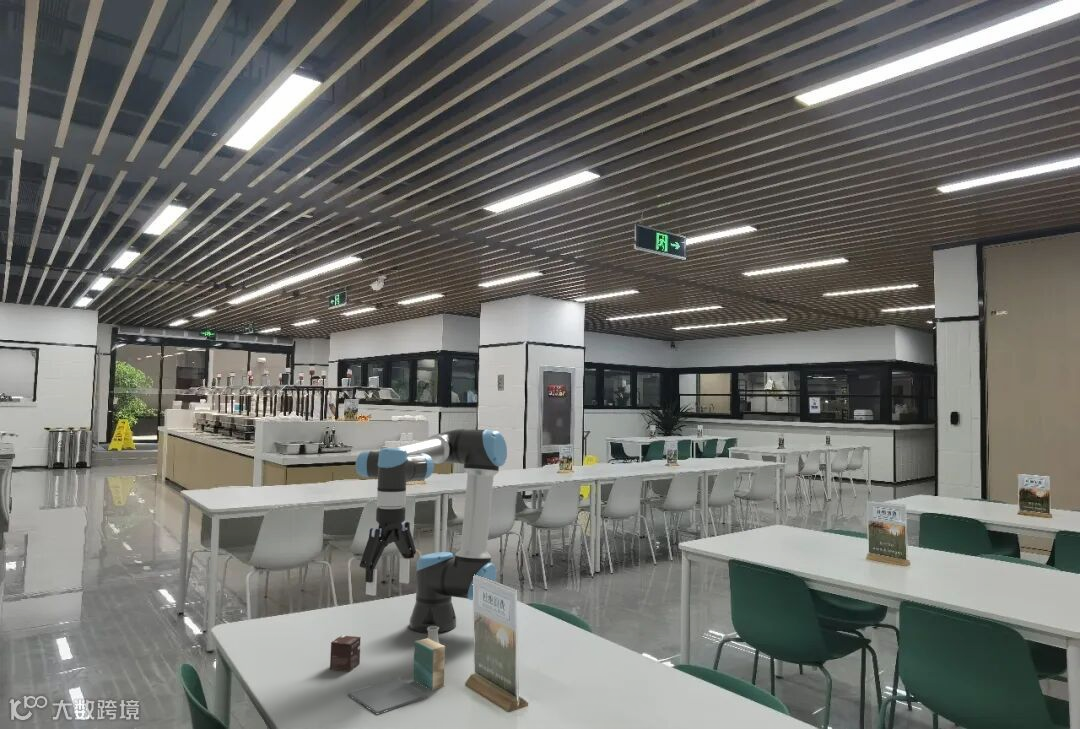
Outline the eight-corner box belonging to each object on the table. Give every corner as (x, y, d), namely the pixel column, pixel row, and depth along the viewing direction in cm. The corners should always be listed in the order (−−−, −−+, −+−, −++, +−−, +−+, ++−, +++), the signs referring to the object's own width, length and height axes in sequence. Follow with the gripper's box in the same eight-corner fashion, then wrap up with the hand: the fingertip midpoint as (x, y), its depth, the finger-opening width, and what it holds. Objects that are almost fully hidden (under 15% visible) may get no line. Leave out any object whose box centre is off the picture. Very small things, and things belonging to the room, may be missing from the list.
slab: (426, 676, 176) (427, 638, 176) (443, 686, 170) (445, 646, 171) (413, 680, 173) (414, 641, 174) (430, 690, 167) (432, 649, 168)
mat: (397, 679, 173) (397, 677, 173) (427, 697, 163) (427, 694, 163) (347, 694, 163) (348, 692, 163) (377, 714, 153) (377, 711, 153)
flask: (450, 662, 186) (451, 625, 187) (435, 671, 179) (436, 633, 180) (428, 657, 189) (429, 622, 190) (413, 666, 182) (414, 629, 183)
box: (349, 672, 178) (350, 644, 178) (329, 670, 179) (330, 642, 179) (360, 663, 184) (361, 636, 184) (340, 661, 185) (341, 634, 185)
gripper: (408, 500, 188) (405, 576, 186) (347, 511, 166) (343, 598, 164) (430, 502, 185) (427, 579, 183) (371, 514, 162) (367, 602, 161)
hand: (388, 588), depth 174 cm, fingers open, 13 cm apart
